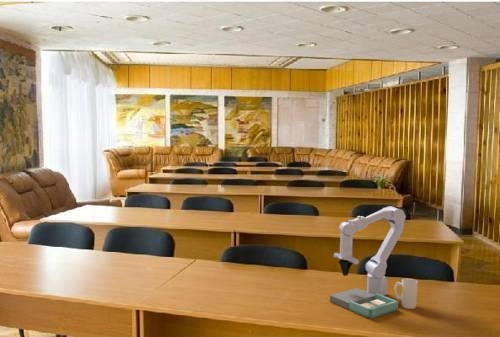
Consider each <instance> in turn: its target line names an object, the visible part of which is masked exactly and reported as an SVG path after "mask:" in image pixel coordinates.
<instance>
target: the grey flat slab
mask: <svg viewBox="0 0 500 337" xmlns="http://www.w3.org/2000/svg"><path fill="white" fill-rule="evenodd" d="M366 291H367V290H365V289H361V288H358V287H356V288H352V289H349V290H346V291H345V290H344V291H341V292H337V293H333V294H330V295H329V302H330V303H333V304H335V305H337V306H340V307H342V308H344V309H346V310H348V311H350V310H349V301H353V302H355V303H358V304H364V303H368V302H370V301H373V300H375V295H374V294H371V293H369V292H366Z"/></svg>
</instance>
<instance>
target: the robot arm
mask: <svg viewBox="0 0 500 337" xmlns="http://www.w3.org/2000/svg"><path fill="white" fill-rule="evenodd" d="M406 217H407V216H406V214H405V211H404V210H403V209H401V208H397V207H395V206H392V205H389V206H386V207H382V209H379V210H378V211H376V212H374V213H371V214H369V215H367V216H366V217H365V216H362V215H361V216H360V215H358V216H356V218H353V219H349V220H348V221H343V222H341V223H340V224H339V227H338V231H339V233H340V234H339V235H340V237H339V238H340V239H339V240H340V241H339V253H338V252H334V253H333V258H336V259H339V260H338V261H337V262H338V264H339V266H340V269H341V271H342V276H344V277H345V276H348V275H349V272H350V269H351V267H352V265H358V264H359V259H357V258H355V257H354V256H353V236H354V235H355V233H356V232H359V231H360V230H363V229H366V228H367V227H368V225H369V224H371V223H375V222H377V221H381V220H383V219H384V220H387V221H388V222H389V224H390V229H389V231H388V232H387V235H386V236H385V238H384V240H383V241H382V243H381V245H380V247H379V249H378V251H377V253H376V254H375V255H374V256H372V257H371V258H370V260H368V261H367V262H366V263H365V267H364V269H365V271H366V272H367V276H366V277H367V278H366V279H367V280H366V283H367V284H366V290H365V291H366V292H369V293H371V294H374V295H375V294H376V293H377V294H380V295H382V296H386V295H389V292H388V280H387V277H386V276H385V275H386V270H387V267H388V264H387V261H388V258H389V256H390V255H391V253H392V251H393V249H394V247H395V246H396V244H397V242H398V240H399V238H400V237H401V235H402V233H403V231H404V228H405V220H406Z"/></svg>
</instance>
